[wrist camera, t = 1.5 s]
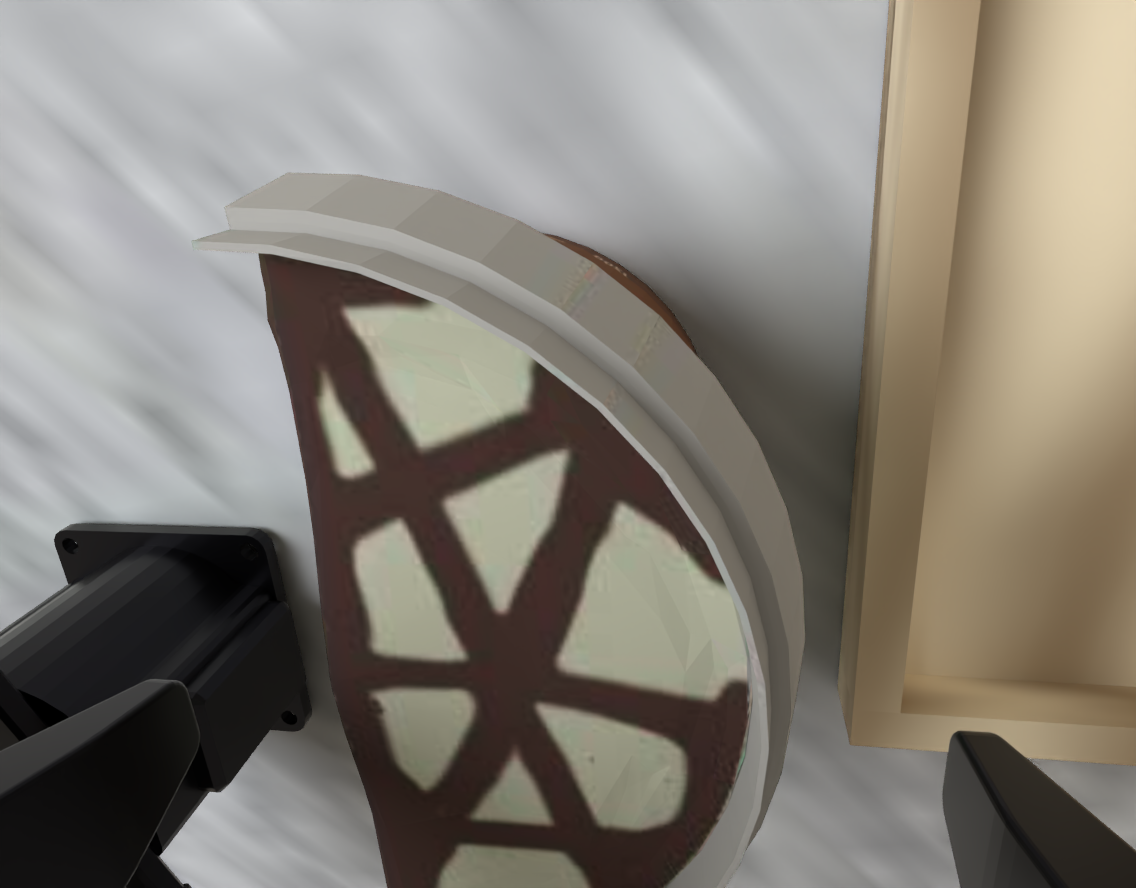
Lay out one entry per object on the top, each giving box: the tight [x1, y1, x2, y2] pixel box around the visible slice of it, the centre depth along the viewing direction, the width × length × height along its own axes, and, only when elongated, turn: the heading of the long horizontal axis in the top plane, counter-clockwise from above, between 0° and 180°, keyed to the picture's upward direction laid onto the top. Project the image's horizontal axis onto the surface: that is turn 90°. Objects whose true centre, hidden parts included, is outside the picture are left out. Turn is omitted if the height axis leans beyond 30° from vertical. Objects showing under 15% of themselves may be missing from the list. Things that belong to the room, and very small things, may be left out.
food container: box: [191, 173, 805, 888], centre depth 13 cm, size 12×6×10 cm, turn 3°
